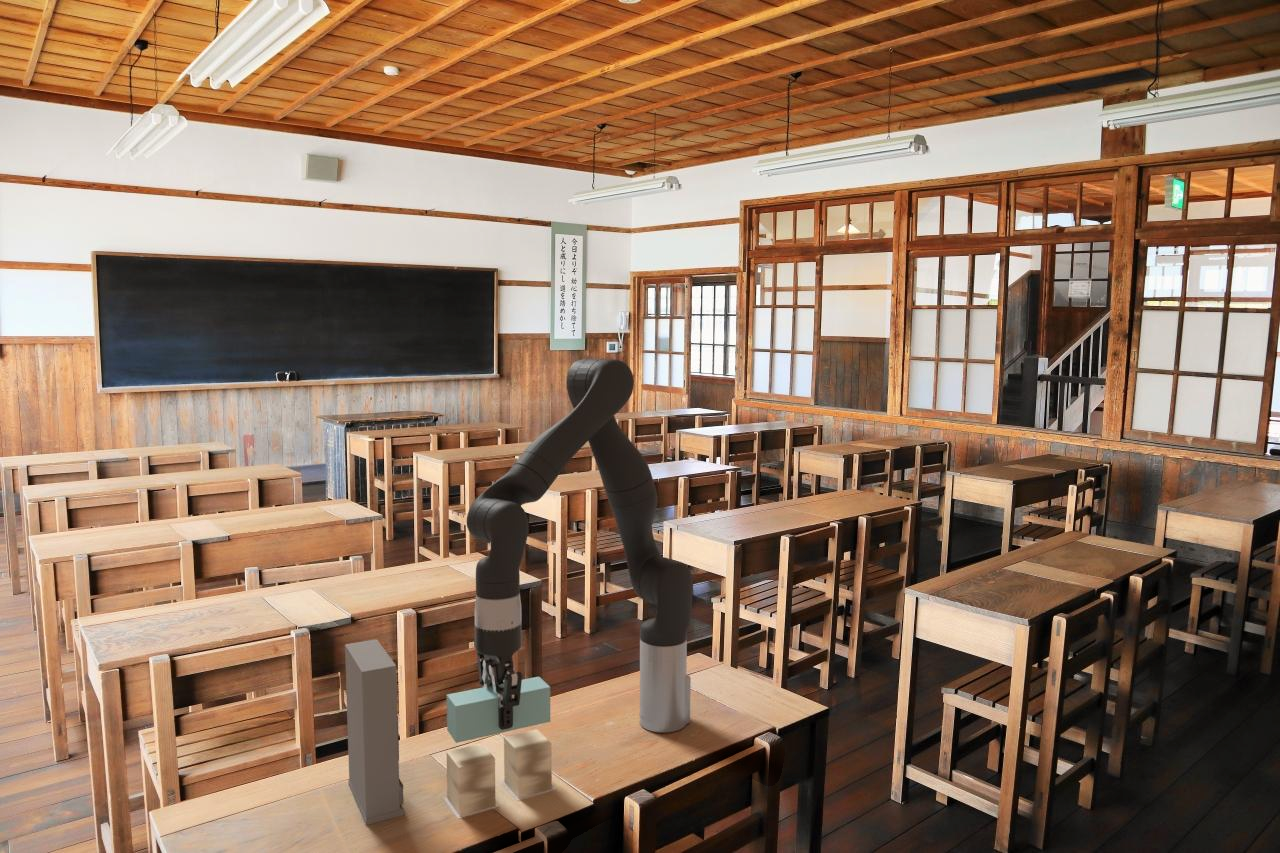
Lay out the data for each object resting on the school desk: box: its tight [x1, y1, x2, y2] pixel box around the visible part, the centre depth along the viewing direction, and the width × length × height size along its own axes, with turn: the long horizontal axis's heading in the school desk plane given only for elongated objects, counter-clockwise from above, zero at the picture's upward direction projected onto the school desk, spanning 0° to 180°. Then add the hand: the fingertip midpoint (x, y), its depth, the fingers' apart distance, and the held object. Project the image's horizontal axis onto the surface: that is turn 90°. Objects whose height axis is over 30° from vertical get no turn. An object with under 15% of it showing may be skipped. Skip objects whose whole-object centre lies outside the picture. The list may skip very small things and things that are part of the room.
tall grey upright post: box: [344, 639, 405, 826], centre depth 136 cm, size 14×6×25 cm, turn 30°
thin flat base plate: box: [443, 780, 557, 820], centre depth 139 cm, size 20×10×1 cm, turn 121°
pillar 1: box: [446, 742, 497, 816], centre depth 136 cm, size 6×6×8 cm
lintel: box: [446, 676, 551, 744], centre depth 138 cm, size 16×5×6 cm, turn 119°
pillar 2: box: [503, 728, 553, 799], centre depth 141 cm, size 6×6×8 cm
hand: (499, 720), depth 138 cm, fingers closed on lintel, 5 cm apart
